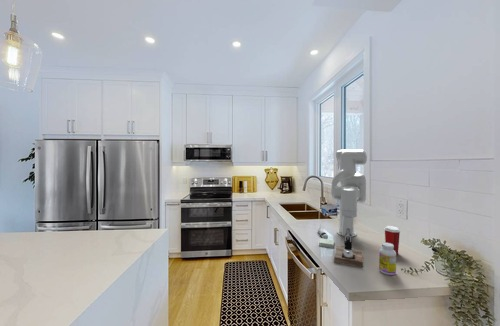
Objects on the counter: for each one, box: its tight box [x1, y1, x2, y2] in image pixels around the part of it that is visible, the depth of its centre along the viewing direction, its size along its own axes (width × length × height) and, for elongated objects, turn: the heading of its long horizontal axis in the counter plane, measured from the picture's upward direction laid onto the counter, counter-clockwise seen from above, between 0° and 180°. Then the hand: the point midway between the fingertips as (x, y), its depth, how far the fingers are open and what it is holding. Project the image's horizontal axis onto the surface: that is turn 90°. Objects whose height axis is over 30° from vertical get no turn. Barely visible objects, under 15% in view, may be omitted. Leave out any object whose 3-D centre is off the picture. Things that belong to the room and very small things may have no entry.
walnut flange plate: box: [333, 245, 364, 268], centre depth 116 cm, size 16×13×3 cm
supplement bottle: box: [378, 242, 397, 276], centre depth 102 cm, size 7×7×13 cm
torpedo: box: [317, 224, 329, 239], centre depth 152 cm, size 18×5×7 cm, turn 177°
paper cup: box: [383, 225, 401, 256], centre depth 123 cm, size 8×8×14 cm
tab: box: [318, 237, 335, 249], centre depth 135 cm, size 8×8×2 cm
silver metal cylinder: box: [344, 249, 353, 259], centre depth 113 cm, size 4×4×5 cm
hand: (348, 245), depth 114 cm, fingers open, 9 cm apart
